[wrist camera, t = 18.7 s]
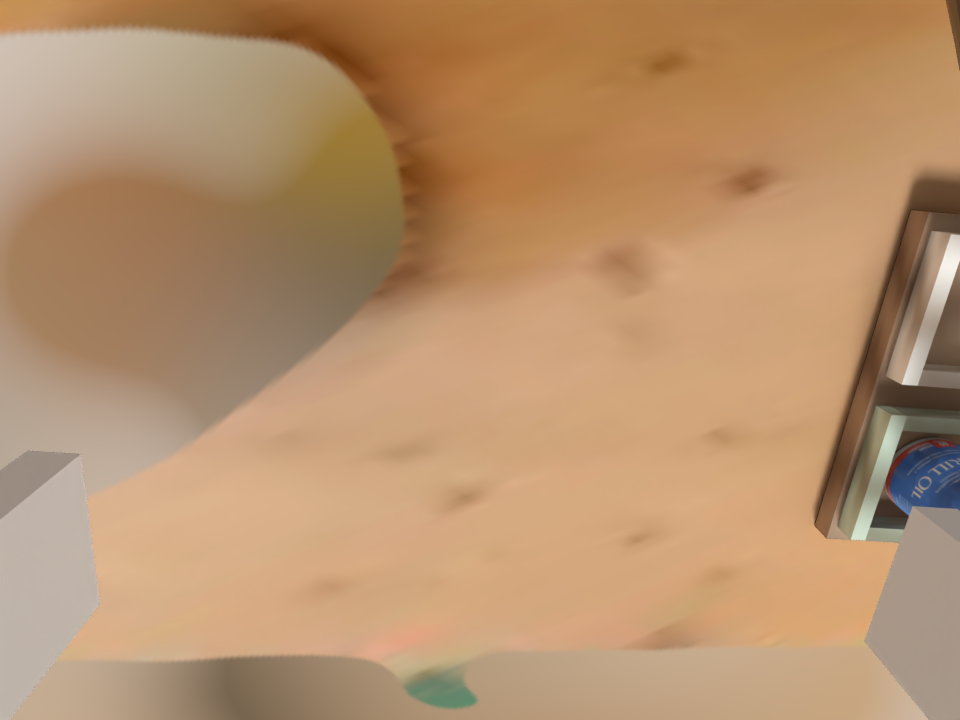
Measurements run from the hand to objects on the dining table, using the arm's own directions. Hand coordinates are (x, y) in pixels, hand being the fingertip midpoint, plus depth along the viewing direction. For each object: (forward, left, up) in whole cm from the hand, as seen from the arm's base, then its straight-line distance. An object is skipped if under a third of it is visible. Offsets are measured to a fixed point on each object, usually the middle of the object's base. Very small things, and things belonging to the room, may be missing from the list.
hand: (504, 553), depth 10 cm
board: (+6, +31, -29) cm, 43 cm away
